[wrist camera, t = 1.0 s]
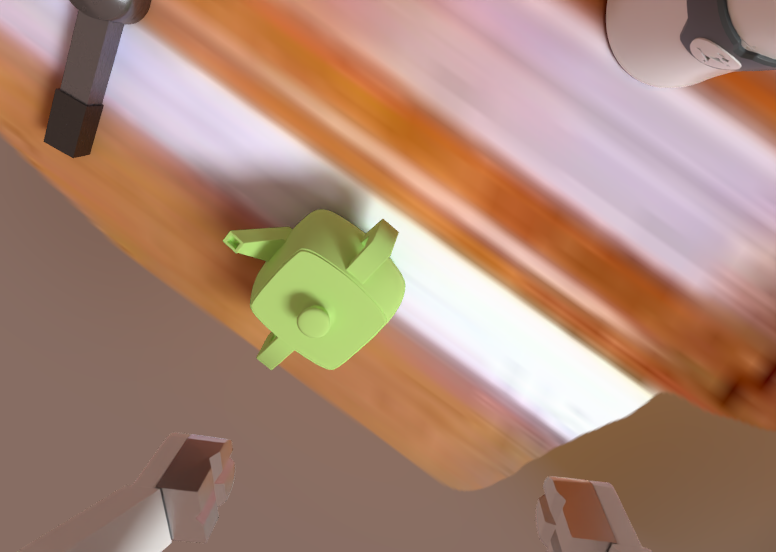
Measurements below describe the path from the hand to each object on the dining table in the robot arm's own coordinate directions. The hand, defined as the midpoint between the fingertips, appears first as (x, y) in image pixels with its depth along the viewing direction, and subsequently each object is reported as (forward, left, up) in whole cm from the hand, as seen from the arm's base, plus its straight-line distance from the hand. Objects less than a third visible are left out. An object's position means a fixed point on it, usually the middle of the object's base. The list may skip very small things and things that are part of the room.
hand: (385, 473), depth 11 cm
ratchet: (+7, -34, -38) cm, 52 cm away
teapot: (+14, -4, -39) cm, 41 cm away
